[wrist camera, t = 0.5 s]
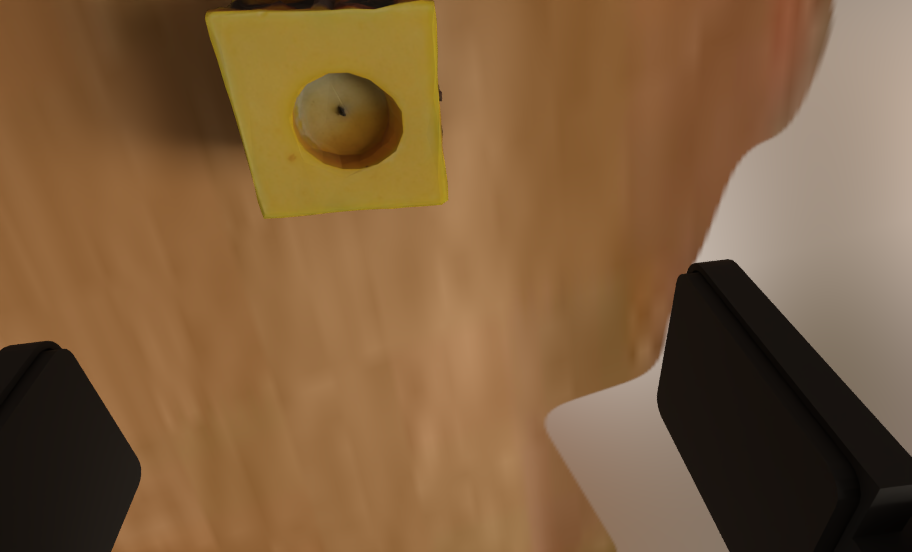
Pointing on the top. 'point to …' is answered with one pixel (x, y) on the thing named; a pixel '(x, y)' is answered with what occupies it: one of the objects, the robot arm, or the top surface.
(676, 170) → the top surface
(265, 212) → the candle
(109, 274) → the top surface
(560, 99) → the top surface
